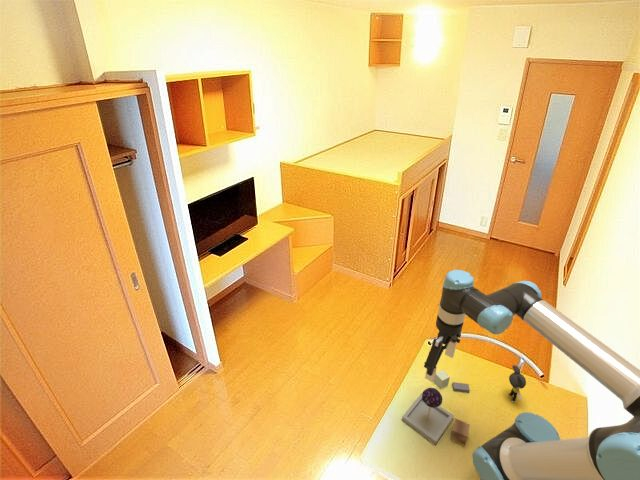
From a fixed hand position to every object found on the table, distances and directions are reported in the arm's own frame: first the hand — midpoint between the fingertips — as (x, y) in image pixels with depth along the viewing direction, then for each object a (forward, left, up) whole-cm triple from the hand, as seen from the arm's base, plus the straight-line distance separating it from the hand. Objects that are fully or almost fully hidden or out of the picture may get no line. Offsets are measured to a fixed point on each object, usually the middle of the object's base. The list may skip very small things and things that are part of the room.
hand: (439, 367), depth 115 cm
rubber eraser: (-3, -21, -28) cm, 35 cm away
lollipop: (0, 0, -27) cm, 27 cm away
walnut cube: (-11, -2, -28) cm, 30 cm away
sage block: (+4, -18, -28) cm, 33 cm away
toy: (-19, -30, -28) cm, 45 cm away
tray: (0, 0, -28) cm, 28 cm away
